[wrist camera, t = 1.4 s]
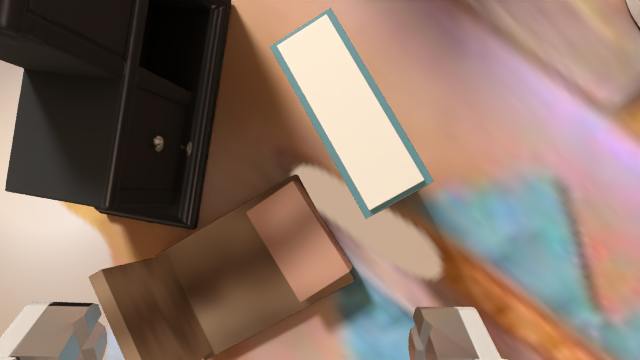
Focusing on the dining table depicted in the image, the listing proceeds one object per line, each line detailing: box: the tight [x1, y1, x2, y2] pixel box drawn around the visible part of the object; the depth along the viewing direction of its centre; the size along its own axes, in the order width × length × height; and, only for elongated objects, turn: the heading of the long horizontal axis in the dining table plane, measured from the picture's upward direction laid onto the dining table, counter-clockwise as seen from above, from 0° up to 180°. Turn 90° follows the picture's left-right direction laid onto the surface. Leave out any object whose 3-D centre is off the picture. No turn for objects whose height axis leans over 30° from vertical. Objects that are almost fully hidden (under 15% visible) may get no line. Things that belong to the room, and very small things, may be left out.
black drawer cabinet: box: [0, 0, 231, 229], centre depth 30 cm, size 23×11×24 cm, turn 171°
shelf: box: [89, 175, 355, 360], centre depth 34 cm, size 11×17×10 cm, turn 119°
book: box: [270, 8, 434, 218], centre depth 30 cm, size 11×4×16 cm, turn 29°
